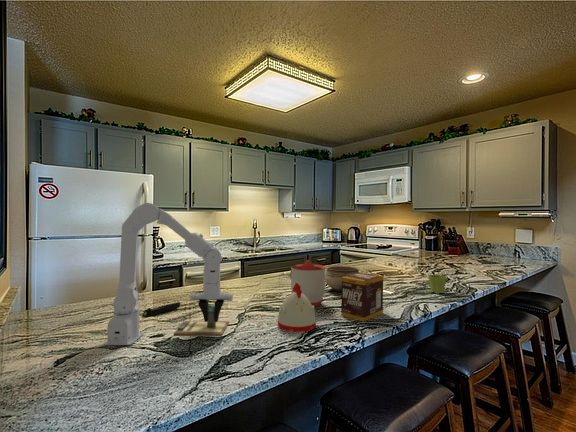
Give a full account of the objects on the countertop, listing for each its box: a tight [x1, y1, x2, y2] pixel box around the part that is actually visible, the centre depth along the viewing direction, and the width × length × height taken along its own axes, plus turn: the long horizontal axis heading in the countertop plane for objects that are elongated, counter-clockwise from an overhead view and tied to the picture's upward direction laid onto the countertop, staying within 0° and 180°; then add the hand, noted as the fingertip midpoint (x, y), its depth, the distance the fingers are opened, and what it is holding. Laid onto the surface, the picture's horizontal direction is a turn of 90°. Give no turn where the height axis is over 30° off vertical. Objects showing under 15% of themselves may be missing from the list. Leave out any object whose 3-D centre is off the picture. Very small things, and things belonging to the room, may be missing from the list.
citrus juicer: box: [287, 259, 326, 308], centre depth 139 cm, size 16×17×20 cm
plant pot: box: [427, 274, 448, 294], centre depth 162 cm, size 9×9×9 cm
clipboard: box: [173, 320, 230, 337], centre depth 108 cm, size 12×16×1 cm
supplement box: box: [340, 272, 384, 322], centre depth 125 cm, size 10×15×16 cm
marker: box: [207, 304, 216, 328], centre depth 108 cm, size 3×3×7 cm
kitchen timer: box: [277, 283, 317, 332], centre depth 113 cm, size 14×14×15 cm
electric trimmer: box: [142, 301, 181, 318], centre depth 126 cm, size 4×15×3 cm, turn 140°
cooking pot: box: [325, 264, 360, 293], centre depth 164 cm, size 25×19×12 cm
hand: (211, 321), depth 108 cm, fingers closed on marker, 3 cm apart
